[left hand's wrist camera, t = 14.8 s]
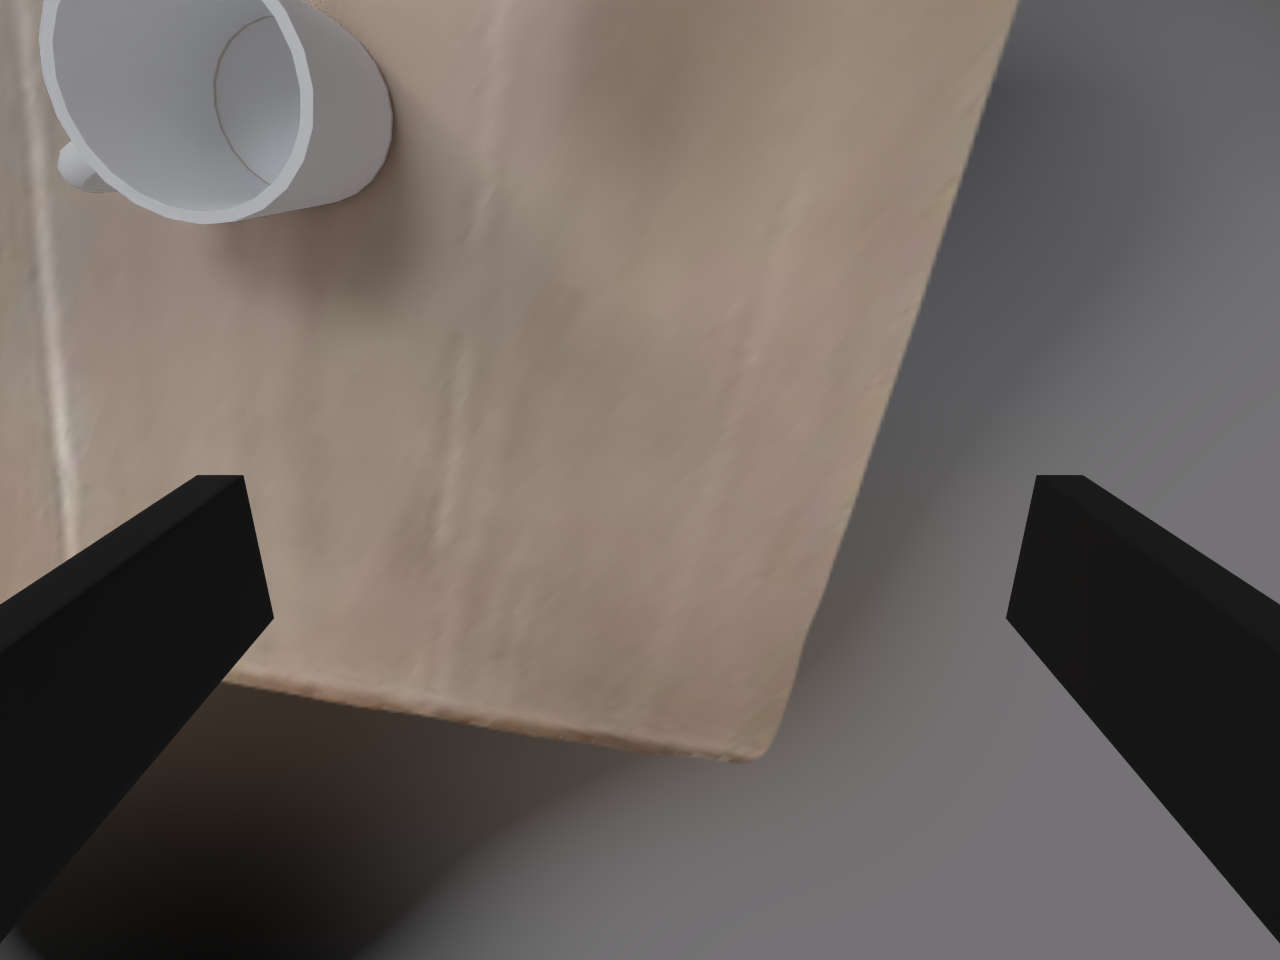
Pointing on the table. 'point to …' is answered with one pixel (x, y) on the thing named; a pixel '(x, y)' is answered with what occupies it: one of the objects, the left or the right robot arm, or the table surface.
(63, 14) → the mug
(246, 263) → the table surface
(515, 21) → the table surface
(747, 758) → the table surface
